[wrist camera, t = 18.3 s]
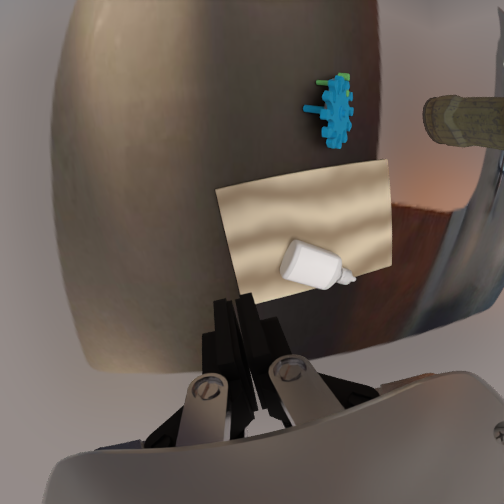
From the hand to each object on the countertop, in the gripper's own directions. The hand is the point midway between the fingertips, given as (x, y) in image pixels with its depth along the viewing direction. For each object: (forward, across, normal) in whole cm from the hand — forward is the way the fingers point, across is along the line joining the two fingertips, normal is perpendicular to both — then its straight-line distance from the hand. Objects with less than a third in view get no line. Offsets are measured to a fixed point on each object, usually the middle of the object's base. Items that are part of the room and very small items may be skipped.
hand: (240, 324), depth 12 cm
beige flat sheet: (+27, -13, +7) cm, 31 cm away
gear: (+27, -17, -10) cm, 34 cm away
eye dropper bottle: (+25, -7, +9) cm, 27 cm away
